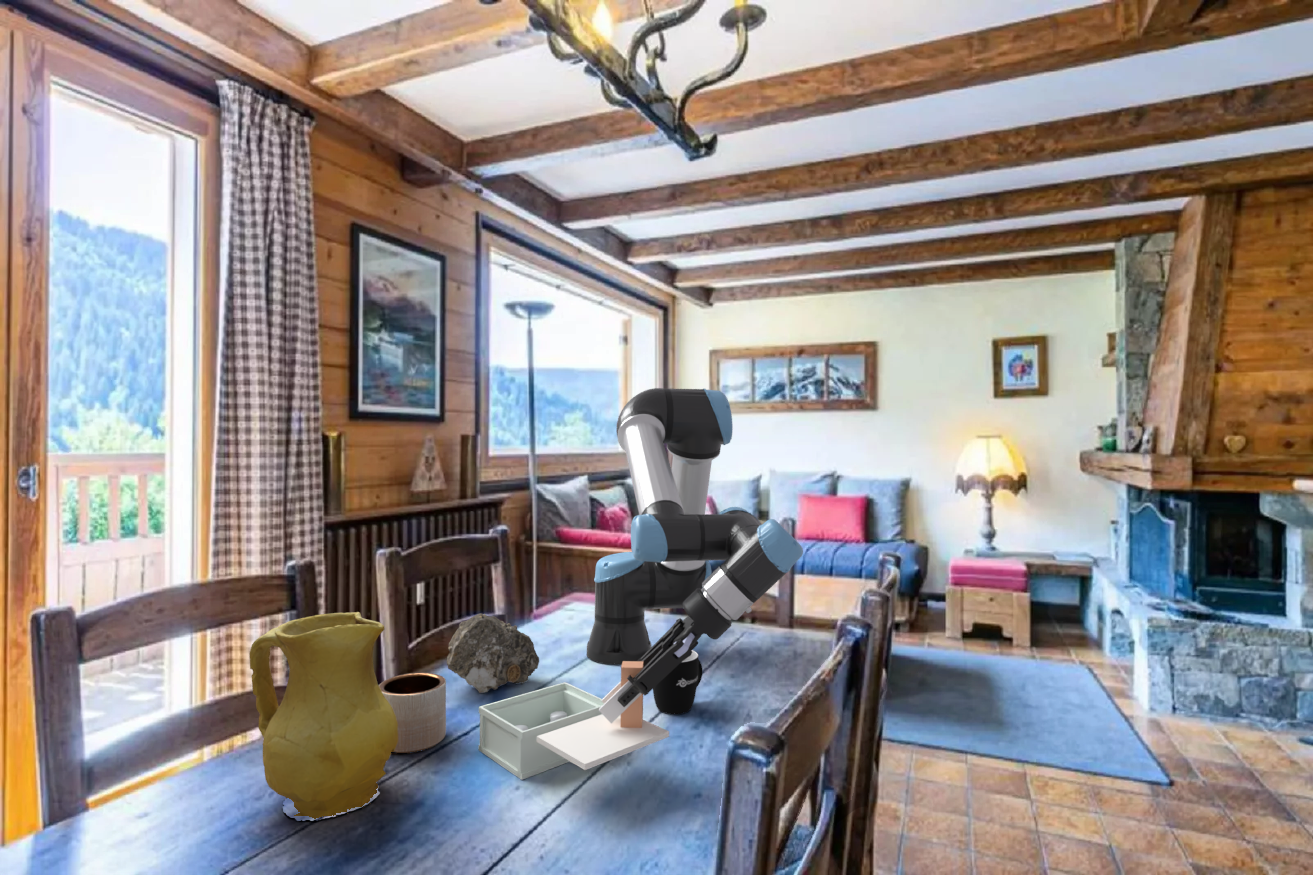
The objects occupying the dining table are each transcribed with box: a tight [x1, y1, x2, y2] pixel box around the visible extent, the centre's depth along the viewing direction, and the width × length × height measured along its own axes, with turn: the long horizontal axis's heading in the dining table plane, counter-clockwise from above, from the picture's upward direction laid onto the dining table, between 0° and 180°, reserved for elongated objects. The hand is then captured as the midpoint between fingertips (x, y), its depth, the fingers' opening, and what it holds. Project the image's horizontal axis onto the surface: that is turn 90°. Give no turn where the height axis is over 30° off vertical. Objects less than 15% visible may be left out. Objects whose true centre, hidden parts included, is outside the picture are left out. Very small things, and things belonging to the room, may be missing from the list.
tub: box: [477, 681, 604, 781], centre depth 113 cm, size 17×13×7 cm
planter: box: [378, 672, 447, 754], centre depth 115 cm, size 11×11×10 cm
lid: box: [537, 661, 670, 771], centre depth 102 cm, size 16×12×10 cm
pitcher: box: [248, 611, 398, 819], centre depth 97 cm, size 17×19×25 cm
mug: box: [652, 649, 703, 715], centre depth 131 cm, size 12×9×10 cm
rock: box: [446, 613, 540, 694], centre depth 142 cm, size 18×14×15 cm
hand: (606, 711), depth 105 cm, fingers closed on lid, 3 cm apart
